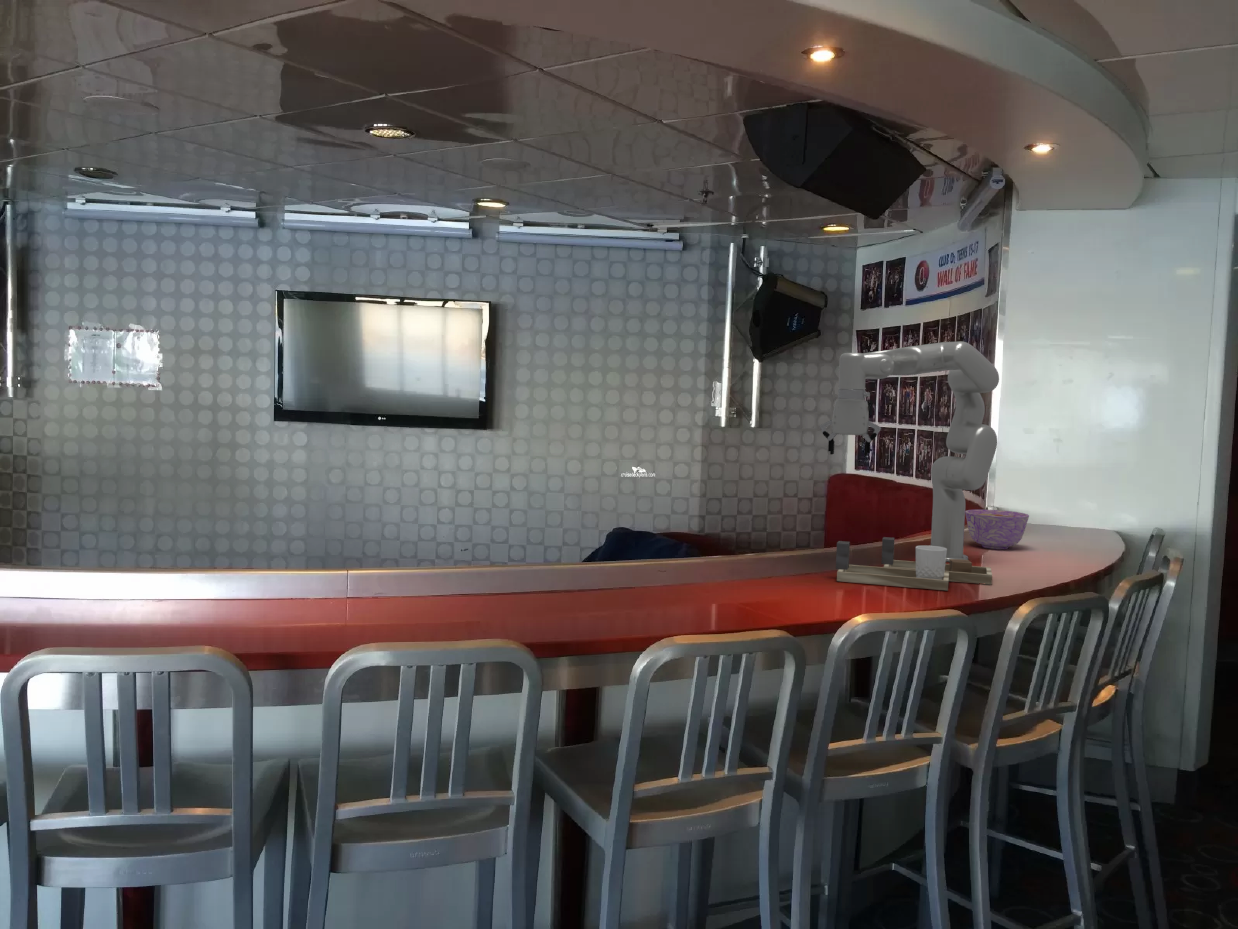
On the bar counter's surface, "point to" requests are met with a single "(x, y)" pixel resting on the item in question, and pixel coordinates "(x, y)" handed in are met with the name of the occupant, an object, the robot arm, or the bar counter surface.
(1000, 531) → the bowl of food
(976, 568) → the cube sled
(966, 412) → the robot arm
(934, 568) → the white cup
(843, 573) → the glass sled
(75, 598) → the bar counter surface
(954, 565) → the walnut cube
